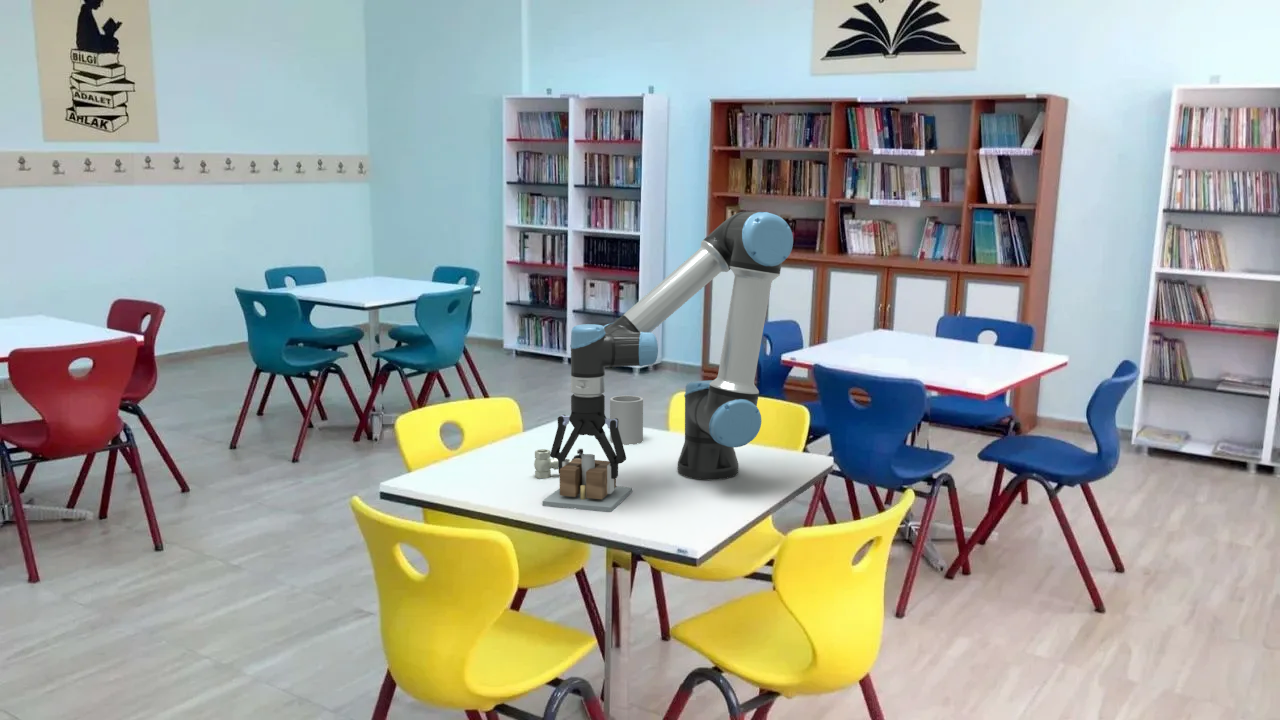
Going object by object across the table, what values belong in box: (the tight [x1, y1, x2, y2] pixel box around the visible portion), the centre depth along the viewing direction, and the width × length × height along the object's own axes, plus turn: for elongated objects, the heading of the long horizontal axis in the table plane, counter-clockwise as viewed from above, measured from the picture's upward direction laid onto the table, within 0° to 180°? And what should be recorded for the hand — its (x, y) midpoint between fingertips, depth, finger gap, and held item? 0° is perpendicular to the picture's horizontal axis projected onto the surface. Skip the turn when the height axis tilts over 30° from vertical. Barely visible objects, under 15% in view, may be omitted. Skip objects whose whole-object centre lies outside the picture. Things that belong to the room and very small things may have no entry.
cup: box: [609, 395, 644, 446], centre depth 287 cm, size 9×9×12 cm
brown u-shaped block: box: [559, 458, 617, 499], centre depth 234 cm, size 10×10×6 cm
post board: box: [541, 453, 634, 513], centre depth 234 cm, size 16×16×10 cm
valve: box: [533, 448, 585, 480], centre depth 252 cm, size 7×7×12 cm
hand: (588, 490), depth 234 cm, fingers closed on brown u-shaped block, 10 cm apart
